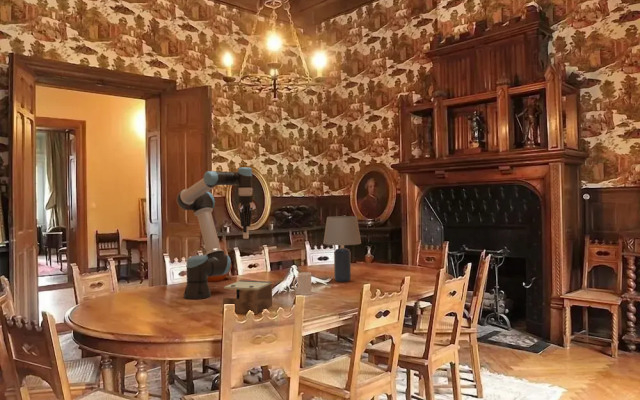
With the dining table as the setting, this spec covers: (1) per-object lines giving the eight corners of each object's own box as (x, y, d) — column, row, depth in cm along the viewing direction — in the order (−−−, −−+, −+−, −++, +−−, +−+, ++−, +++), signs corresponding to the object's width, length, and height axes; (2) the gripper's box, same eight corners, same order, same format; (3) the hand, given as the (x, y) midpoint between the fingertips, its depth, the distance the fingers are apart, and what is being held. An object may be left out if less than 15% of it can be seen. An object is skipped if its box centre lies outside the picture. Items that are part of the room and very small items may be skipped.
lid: (224, 288, 256) (224, 285, 256) (240, 282, 273) (239, 279, 273) (257, 290, 250) (257, 287, 250) (271, 284, 268) (271, 280, 268)
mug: (296, 296, 292) (296, 275, 292) (289, 294, 300) (289, 273, 300) (314, 294, 298) (314, 273, 298) (307, 291, 306) (307, 271, 306)
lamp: (318, 279, 350) (318, 216, 349) (353, 277, 357) (352, 215, 357) (330, 285, 326) (330, 218, 325) (367, 283, 333) (366, 217, 333)
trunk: (223, 312, 255) (222, 289, 255) (240, 304, 274) (240, 282, 274) (256, 314, 249) (256, 291, 249) (272, 305, 269) (271, 283, 268)
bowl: (239, 278, 357) (239, 264, 357) (213, 284, 336) (213, 268, 336) (213, 275, 370) (212, 262, 370) (186, 281, 349) (186, 266, 349)
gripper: (246, 195, 275) (247, 239, 275) (256, 195, 287) (257, 237, 288) (233, 195, 277) (234, 239, 277) (244, 195, 290) (244, 237, 290)
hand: (245, 238), depth 283 cm, fingers closed
